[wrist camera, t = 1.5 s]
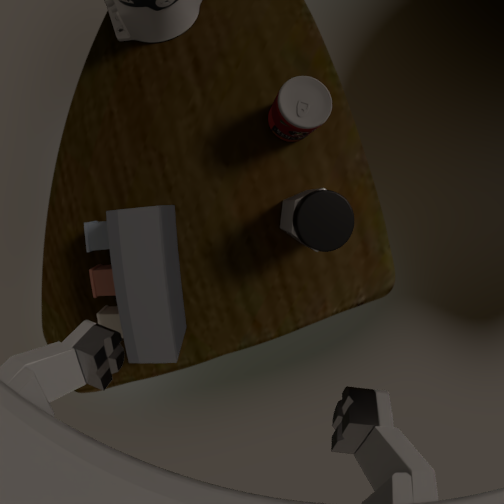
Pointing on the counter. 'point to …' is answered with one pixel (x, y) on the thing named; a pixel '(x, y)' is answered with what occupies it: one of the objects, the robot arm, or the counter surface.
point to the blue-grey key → (96, 235)
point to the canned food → (299, 108)
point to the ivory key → (110, 318)
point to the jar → (318, 219)
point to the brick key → (102, 280)
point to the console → (147, 282)
